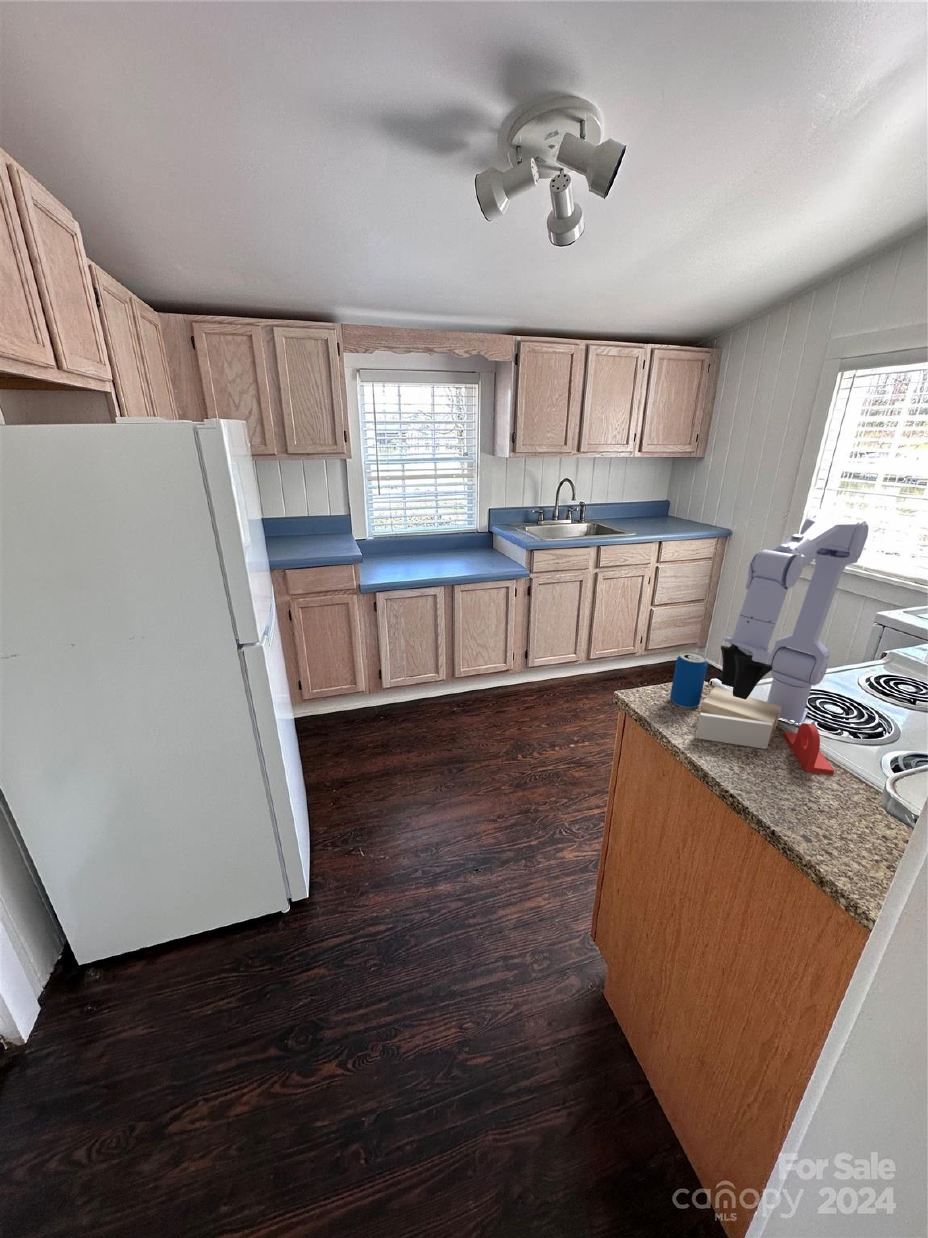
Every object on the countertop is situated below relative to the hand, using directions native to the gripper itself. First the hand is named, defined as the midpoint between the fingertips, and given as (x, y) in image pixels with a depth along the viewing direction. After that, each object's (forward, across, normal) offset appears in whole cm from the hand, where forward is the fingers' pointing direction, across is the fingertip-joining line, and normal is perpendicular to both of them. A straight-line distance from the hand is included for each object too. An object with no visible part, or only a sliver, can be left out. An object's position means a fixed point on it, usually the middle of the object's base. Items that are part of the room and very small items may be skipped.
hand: (733, 691), depth 88 cm
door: (+13, -11, +6) cm, 18 cm away
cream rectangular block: (+11, -18, +9) cm, 23 cm away
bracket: (+11, -11, +20) cm, 26 cm away
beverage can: (+11, -26, -1) cm, 28 cm away
